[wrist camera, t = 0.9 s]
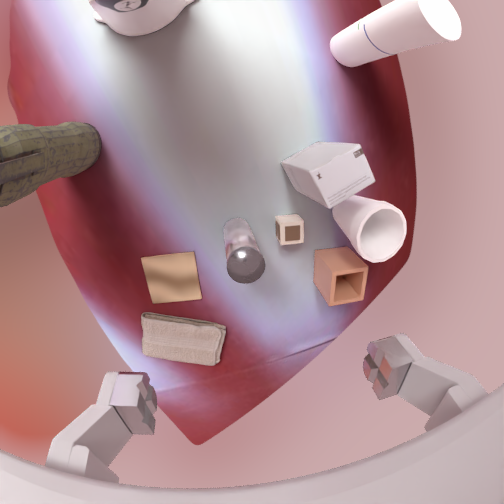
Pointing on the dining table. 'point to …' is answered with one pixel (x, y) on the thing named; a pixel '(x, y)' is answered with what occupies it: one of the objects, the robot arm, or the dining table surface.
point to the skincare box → (329, 172)
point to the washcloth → (182, 339)
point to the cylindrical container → (396, 31)
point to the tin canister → (242, 252)
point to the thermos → (43, 156)
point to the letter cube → (289, 229)
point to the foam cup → (371, 227)
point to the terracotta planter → (339, 275)
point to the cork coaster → (172, 277)
